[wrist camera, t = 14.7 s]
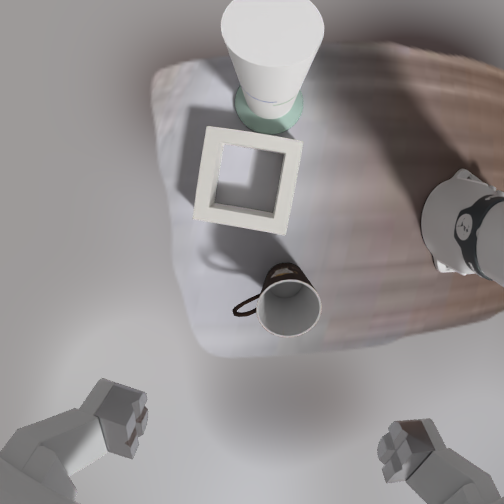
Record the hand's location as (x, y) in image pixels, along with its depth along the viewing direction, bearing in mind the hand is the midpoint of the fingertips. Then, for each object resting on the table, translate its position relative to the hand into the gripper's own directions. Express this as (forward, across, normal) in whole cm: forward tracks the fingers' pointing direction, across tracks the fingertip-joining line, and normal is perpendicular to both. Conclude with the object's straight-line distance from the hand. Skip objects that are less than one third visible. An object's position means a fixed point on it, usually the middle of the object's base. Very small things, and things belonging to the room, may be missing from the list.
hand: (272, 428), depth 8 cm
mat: (+39, +3, -17) cm, 43 cm away
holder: (+39, +4, -5) cm, 40 cm away
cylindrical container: (+39, +3, -18) cm, 43 cm away
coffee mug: (+39, -3, +10) cm, 41 cm away
